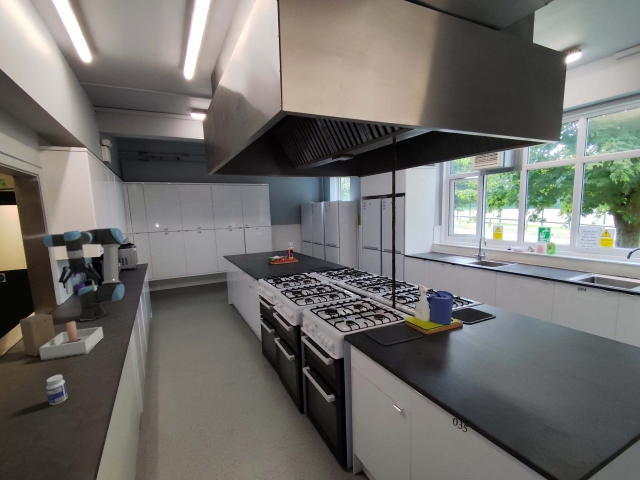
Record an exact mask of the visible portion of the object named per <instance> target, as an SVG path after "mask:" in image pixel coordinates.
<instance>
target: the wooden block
mask: <svg viewBox="0 0 640 480" xmlns="http://www.w3.org/2000/svg"><path fill="white" fill-rule="evenodd" d="M19 325H20V330H21V335H22V336H21V337H22V341H23V346H24V352H25V355H27V354H28V355H27V356H31V355H34V356H33V357H38V356H37V355H39V354H40V350H39V348H40V347H42V346H43V345H44V344H46V343H47V342H49V341H50V340H52V339H53V338H54V337H56V333H55V327H54V321H53V316H52V315H51V314H45V313H38V314H35V315H32V316H28V317H25V318H21V319H20V320H19ZM39 356H40V355H39Z"/></svg>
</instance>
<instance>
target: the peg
mask: <svg viewBox="0 0 640 480" xmlns="http://www.w3.org/2000/svg"><path fill="white" fill-rule="evenodd" d="M65 328H66V332H67V335H68V341H69V343H74V342H78V336H77V330H78V329H77V324H76V321H75V320H72V321H69V322H66V323H65Z"/></svg>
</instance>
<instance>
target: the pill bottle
mask: <svg viewBox="0 0 640 480" xmlns="http://www.w3.org/2000/svg"><path fill="white" fill-rule="evenodd" d="M63 378H64V377H63V374H55V375H52V376H50V377H48V378H47V379H46V384H47V385H46V387H45V390H46V395H47V400H48V404H49V405H50V406H55V405H58V404H61V403H64V402H65V400H67V399H68V390H67V384H66V381H65V379H63Z"/></svg>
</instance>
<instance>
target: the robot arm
mask: <svg viewBox="0 0 640 480" xmlns="http://www.w3.org/2000/svg"><path fill="white" fill-rule="evenodd" d="M123 242H124V236H123V232H122V230H121V229H119V228H118V227H110V228H109V227H106V228H94V229H88V230H83V231H82V230H81V231H80V230H71V231H65V232H63V233H58V234H57V233H56V234H54V233H53V234H46V235H44V237H43V244H44V246H45V247H46V248H56V247H57V248H58V247H65V251H66V257H67V258H68V259H67V262H68V266H67V265H65V266H62V272H61V274H60V276H59V279H58V281H57V282H58V283H61V284H62V287H63V289H65V292H66V295H69V294H71V289H70V288H71V287H70V282H69V280H70V279H71V277H72V276H73V274H81V273H82V274H85V275H86V276H87V277H89V278H90V279H92V280H91V284H89V285H87V286H84V287H81V288H80V289H78V291H77V293H78V301H79V306H80V312H79V315H78V320H79V319H94V318H99V317H102V316H104V315H105V314H106V310H105V309H104V307H103V305H102V303H110V302H117V301H120V300H122V299H123V298H124V294H125V292H126V291H125V290H126V289H125V285H124V284H123V283H122V282H121V281H120V280H119V252H118V251H119V248H120V247H121V244H123ZM84 245H100V247H101V248H102V249H103V281H102V282H101V286H99V284H98V280H99V279H100V278H101V275H100V274H99V272H97V270H96V269H95V267H94V266H93V264H92V263H89V264H86V259H85V257H84V256H85V253H84V248H83V246H84ZM68 270H70V271H69V272H68ZM67 272H68V274H67ZM66 275H67V276H66ZM105 316H106V315H105ZM105 316H104V317H105ZM102 318H103V317H102ZM99 319H100V318H99Z"/></svg>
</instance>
